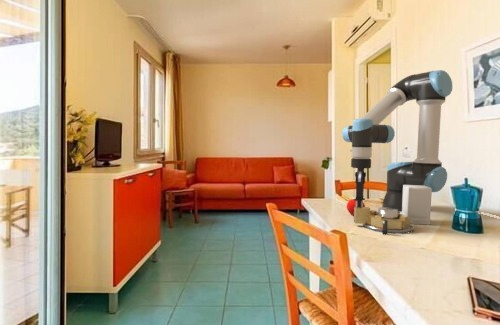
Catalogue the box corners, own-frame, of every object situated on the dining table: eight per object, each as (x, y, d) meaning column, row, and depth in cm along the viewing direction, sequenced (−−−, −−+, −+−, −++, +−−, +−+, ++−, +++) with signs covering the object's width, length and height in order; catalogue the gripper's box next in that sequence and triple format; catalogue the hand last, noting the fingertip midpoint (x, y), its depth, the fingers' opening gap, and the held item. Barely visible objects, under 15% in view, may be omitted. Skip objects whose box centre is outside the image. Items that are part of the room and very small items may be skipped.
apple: (357, 212, 152) (358, 197, 152) (368, 216, 145) (369, 200, 144) (342, 213, 150) (343, 197, 149) (353, 217, 142) (354, 200, 142)
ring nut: (400, 219, 134) (401, 205, 134) (415, 229, 120) (416, 213, 119) (350, 218, 136) (351, 203, 136) (358, 227, 122) (359, 211, 121)
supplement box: (430, 225, 131) (432, 188, 130) (406, 223, 133) (408, 187, 132) (423, 219, 140) (425, 185, 139) (401, 218, 142) (402, 184, 141)
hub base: (374, 219, 141) (374, 202, 140) (419, 227, 128) (420, 209, 128) (352, 227, 126) (352, 209, 125) (400, 238, 113) (401, 218, 113)
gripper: (352, 156, 138) (350, 212, 139) (349, 158, 126) (347, 219, 127) (371, 157, 135) (369, 213, 137) (370, 159, 123) (368, 221, 125)
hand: (358, 216), depth 132 cm, fingers closed
